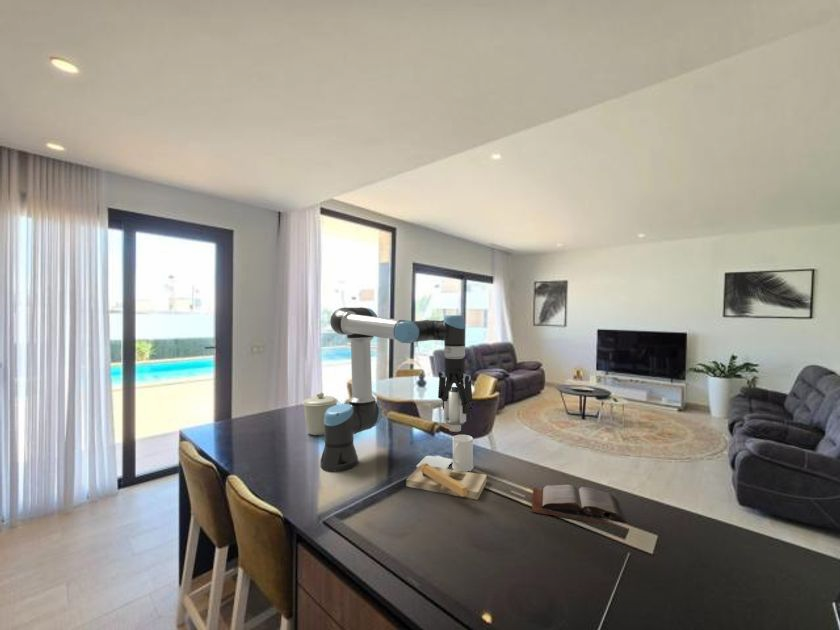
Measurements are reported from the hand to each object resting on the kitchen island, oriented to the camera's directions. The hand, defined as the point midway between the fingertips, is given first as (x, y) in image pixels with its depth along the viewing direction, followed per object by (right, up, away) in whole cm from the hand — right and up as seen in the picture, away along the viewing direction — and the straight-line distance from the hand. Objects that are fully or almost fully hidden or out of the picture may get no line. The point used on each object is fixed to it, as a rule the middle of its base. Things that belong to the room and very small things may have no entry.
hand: (454, 420), depth 135 cm
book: (+38, -23, -16) cm, 48 cm away
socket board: (-3, -23, -1) cm, 23 cm away
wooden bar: (-5, -19, -8) cm, 21 cm away
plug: (0, -3, 0) cm, 3 cm away
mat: (-7, -23, +16) cm, 29 cm away
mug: (+3, -23, +12) cm, 26 cm away
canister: (-65, -23, +58) cm, 90 cm away
